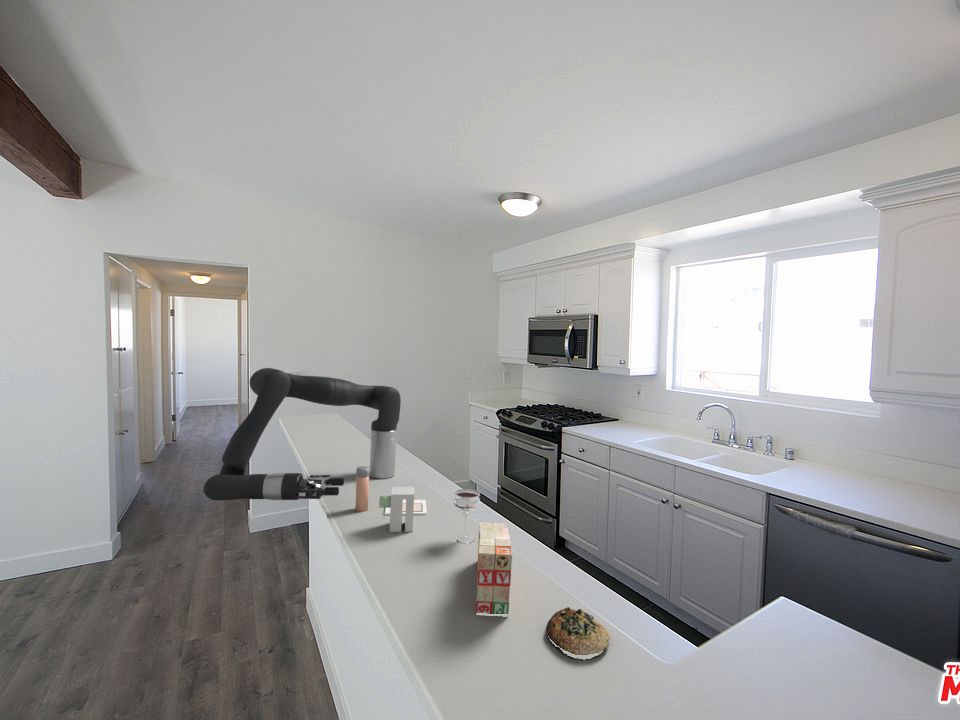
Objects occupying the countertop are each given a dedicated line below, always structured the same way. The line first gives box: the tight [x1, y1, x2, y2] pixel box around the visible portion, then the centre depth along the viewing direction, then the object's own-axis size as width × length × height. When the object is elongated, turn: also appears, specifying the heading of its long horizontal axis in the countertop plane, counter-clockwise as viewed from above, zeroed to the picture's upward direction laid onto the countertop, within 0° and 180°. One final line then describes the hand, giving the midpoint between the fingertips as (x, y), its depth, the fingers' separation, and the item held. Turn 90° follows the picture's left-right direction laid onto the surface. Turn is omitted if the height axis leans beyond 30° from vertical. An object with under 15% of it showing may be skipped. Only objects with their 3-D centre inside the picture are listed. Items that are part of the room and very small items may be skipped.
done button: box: [378, 495, 391, 509], centre depth 119 cm, size 3×4×3 cm
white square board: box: [384, 499, 428, 516], centre depth 134 cm, size 11×12×1 cm
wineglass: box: [453, 488, 481, 544], centre depth 114 cm, size 7×7×12 cm
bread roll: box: [545, 606, 611, 655], centre depth 77 cm, size 11×11×5 cm
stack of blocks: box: [475, 522, 513, 615], centre depth 93 cm, size 21×6×12 cm, turn 179°
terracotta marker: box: [354, 465, 370, 513], centre depth 131 cm, size 4×4×12 cm
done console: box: [389, 486, 415, 533], centre depth 120 cm, size 6×6×10 cm
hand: (341, 486), depth 130 cm, fingers open, 8 cm apart
